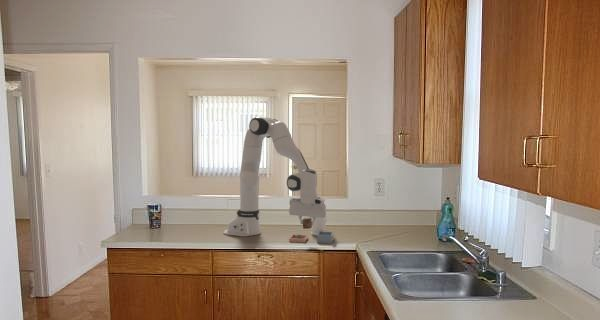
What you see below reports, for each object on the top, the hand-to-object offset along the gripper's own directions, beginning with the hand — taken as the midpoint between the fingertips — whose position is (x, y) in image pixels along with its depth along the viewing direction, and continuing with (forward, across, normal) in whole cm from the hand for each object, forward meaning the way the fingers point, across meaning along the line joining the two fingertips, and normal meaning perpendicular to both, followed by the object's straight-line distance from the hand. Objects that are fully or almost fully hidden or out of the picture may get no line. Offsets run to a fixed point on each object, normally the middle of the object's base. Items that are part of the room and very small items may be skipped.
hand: (307, 224), depth 230 cm
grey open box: (+11, +9, +8) cm, 16 cm away
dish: (+12, -6, +7) cm, 15 cm away
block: (+2, 0, 0) cm, 2 cm away
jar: (+11, +2, +25) cm, 27 cm away
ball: (+11, -6, +7) cm, 14 cm away
